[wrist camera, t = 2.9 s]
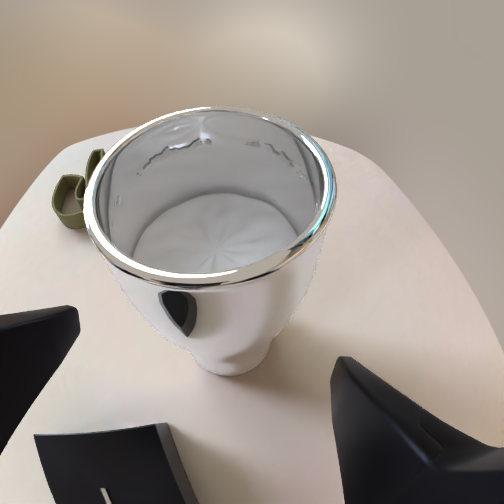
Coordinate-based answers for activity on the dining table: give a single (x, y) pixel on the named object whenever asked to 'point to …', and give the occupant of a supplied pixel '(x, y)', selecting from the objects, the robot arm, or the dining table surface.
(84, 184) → the cookie cutter
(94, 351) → the dining table surface
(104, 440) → the hob panel
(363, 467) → the robot arm
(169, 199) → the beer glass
